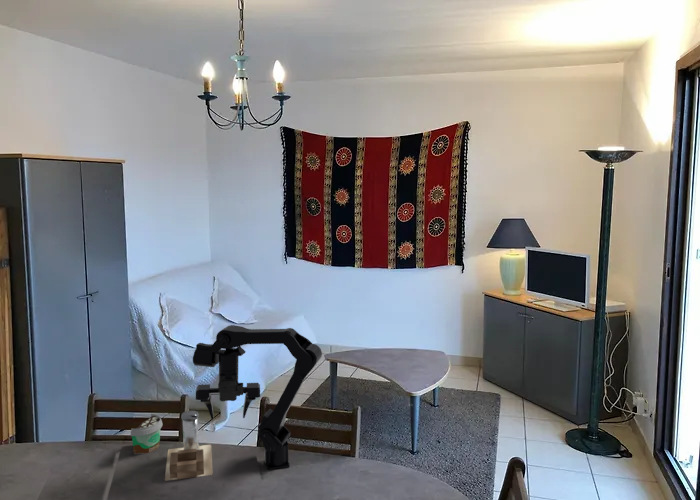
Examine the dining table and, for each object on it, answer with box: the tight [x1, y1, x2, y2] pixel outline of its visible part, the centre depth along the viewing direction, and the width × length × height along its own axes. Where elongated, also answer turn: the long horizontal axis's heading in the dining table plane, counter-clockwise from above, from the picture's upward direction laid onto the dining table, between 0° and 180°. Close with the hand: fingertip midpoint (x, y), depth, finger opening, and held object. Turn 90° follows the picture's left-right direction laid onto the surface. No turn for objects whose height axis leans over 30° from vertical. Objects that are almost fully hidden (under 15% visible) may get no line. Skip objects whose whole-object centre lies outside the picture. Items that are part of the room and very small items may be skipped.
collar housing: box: [164, 444, 214, 481], centre depth 168 cm, size 13×19×6 cm
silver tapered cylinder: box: [181, 410, 200, 450], centre depth 171 cm, size 5×5×13 cm
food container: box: [130, 413, 163, 455], centre depth 176 cm, size 12×6×10 cm, turn 168°
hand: (228, 418), depth 171 cm, fingers open, 9 cm apart
